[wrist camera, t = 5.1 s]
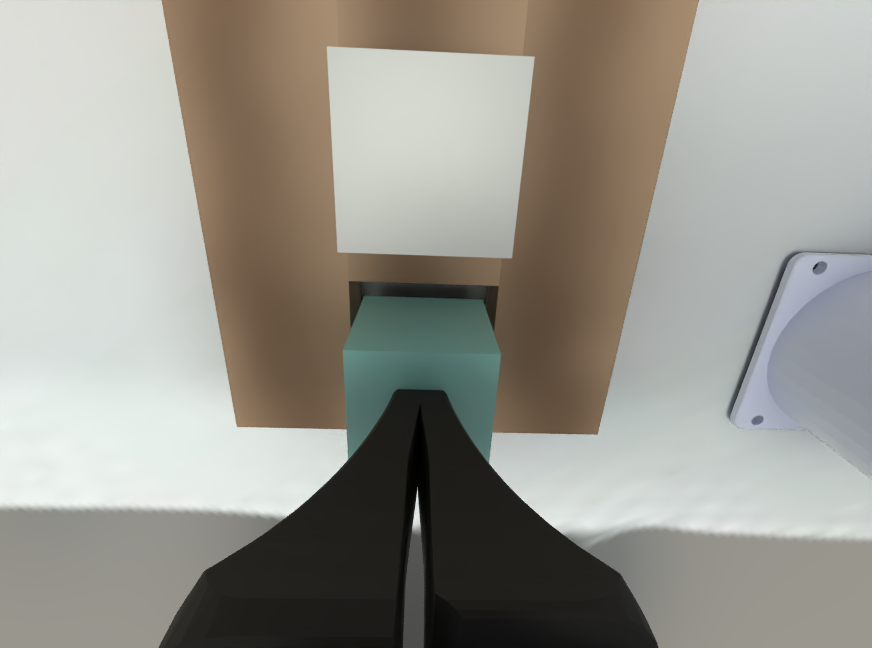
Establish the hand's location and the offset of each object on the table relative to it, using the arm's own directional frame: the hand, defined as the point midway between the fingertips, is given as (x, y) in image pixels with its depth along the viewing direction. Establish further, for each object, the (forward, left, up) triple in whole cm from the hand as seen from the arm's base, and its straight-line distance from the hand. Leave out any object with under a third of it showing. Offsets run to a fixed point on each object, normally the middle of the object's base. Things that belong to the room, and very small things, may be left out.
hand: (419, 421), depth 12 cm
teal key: (0, 0, -4) cm, 4 cm away
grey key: (0, -7, -4) cm, 8 cm away
